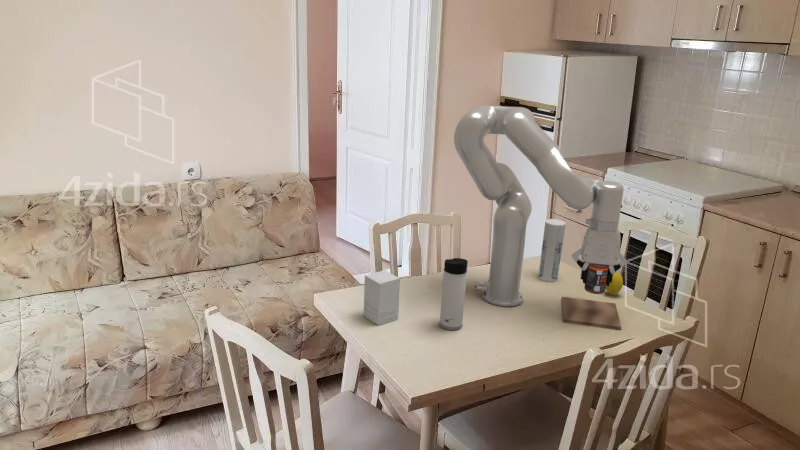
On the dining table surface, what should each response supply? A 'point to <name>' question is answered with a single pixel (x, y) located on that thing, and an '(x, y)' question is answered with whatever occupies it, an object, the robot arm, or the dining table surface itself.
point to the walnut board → (590, 313)
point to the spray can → (551, 250)
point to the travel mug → (453, 293)
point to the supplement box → (381, 297)
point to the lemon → (615, 284)
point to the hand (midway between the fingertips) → (595, 282)
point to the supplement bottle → (596, 278)
